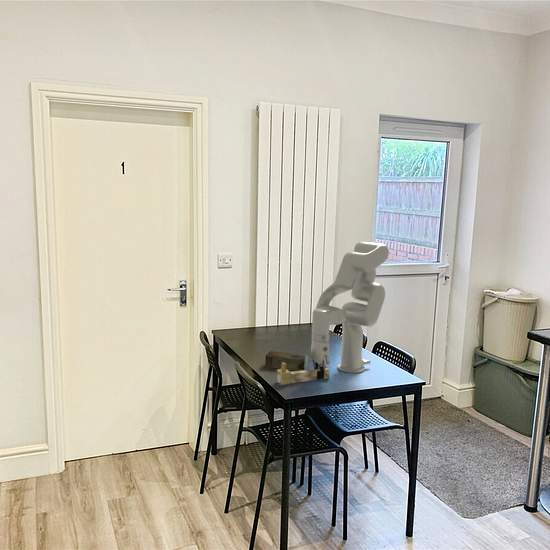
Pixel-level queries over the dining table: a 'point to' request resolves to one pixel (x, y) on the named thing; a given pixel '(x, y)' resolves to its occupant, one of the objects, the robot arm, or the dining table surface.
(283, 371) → the lock collar
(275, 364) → the beverage carton
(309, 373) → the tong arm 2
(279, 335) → the dining table surface
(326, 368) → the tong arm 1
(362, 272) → the robot arm
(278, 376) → the block
